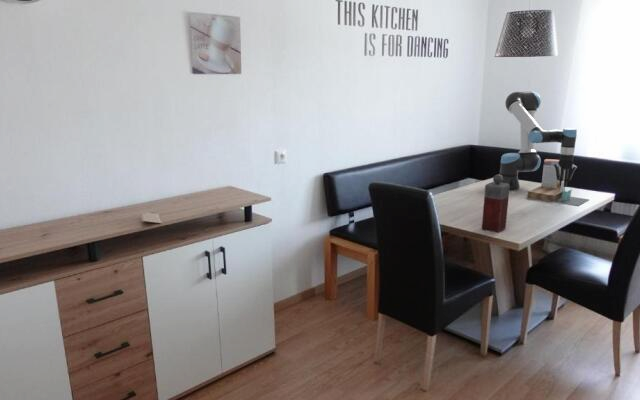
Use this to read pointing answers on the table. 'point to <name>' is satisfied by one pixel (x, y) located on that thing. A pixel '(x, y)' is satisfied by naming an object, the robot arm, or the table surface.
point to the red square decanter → (495, 205)
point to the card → (566, 194)
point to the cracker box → (550, 174)
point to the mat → (573, 201)
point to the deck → (545, 194)
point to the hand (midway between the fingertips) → (562, 191)
